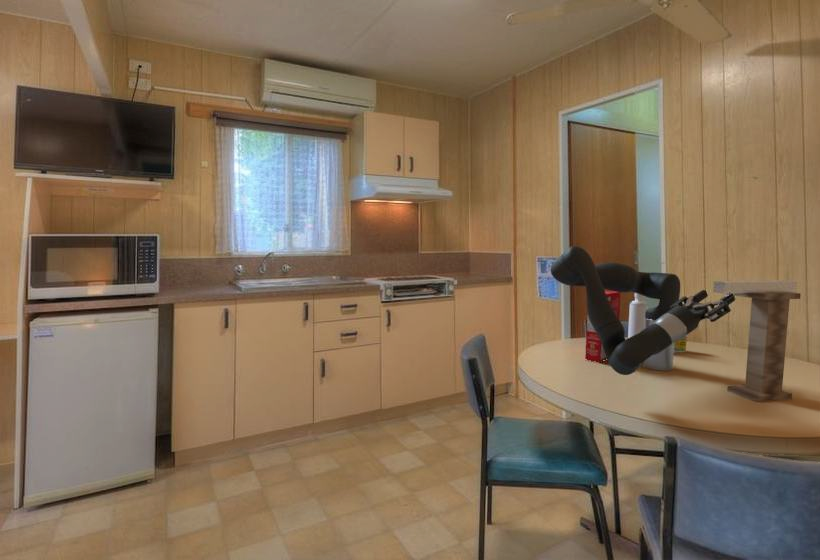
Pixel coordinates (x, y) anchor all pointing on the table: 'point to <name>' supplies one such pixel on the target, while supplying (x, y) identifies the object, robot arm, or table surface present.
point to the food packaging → (592, 339)
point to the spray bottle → (637, 315)
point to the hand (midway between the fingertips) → (719, 294)
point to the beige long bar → (754, 286)
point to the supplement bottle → (680, 345)
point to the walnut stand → (766, 347)
